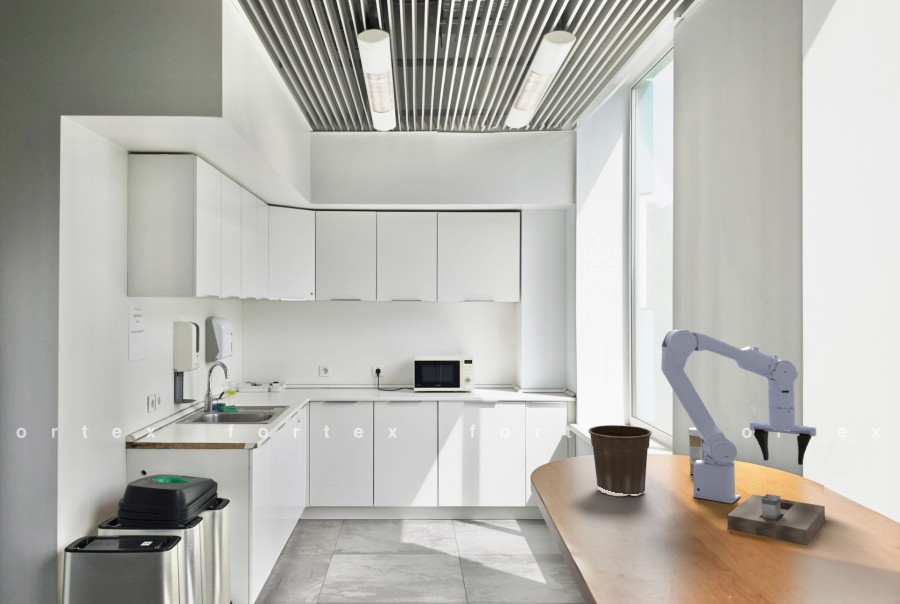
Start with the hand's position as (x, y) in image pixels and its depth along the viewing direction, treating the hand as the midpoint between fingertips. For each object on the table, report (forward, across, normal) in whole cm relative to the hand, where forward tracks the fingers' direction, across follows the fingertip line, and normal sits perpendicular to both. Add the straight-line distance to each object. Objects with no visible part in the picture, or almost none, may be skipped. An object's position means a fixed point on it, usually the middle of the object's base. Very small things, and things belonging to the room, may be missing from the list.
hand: (783, 461), depth 152 cm
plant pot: (+10, -36, -17) cm, 41 cm away
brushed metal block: (+9, +2, -26) cm, 28 cm away
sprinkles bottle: (+10, -25, +13) cm, 29 cm away
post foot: (+9, +2, -21) cm, 23 cm away
